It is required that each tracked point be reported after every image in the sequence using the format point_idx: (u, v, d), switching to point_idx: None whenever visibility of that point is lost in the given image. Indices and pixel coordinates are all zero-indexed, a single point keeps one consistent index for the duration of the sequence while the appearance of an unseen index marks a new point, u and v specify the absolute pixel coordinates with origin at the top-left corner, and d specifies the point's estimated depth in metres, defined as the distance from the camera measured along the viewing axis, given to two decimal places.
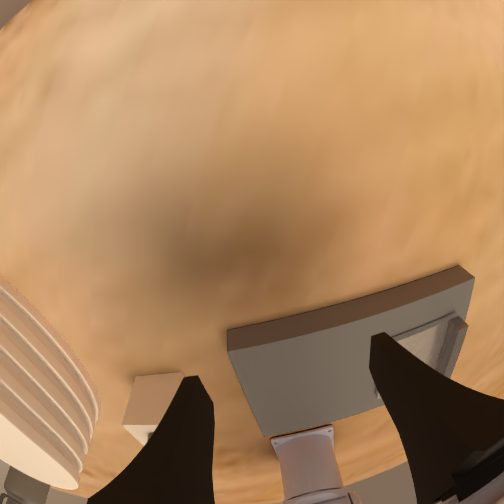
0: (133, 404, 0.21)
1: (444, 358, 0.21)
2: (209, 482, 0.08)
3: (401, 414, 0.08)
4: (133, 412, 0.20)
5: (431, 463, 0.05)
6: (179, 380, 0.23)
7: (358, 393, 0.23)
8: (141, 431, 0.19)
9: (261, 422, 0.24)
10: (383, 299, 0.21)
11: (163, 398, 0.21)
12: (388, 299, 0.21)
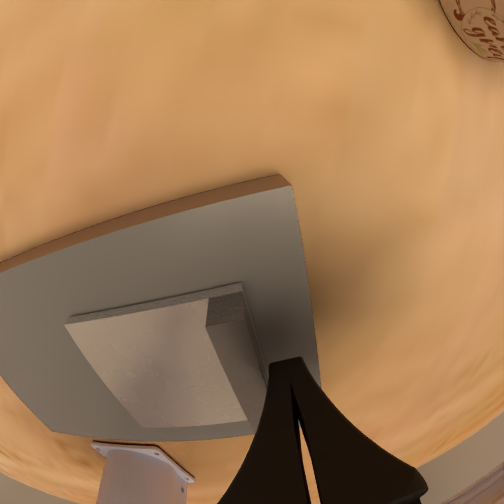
0: None
1: None
2: (304, 470, 0.08)
3: (307, 444, 0.08)
4: None
5: (321, 503, 0.05)
6: None
7: (114, 407, 0.13)
8: None
9: (30, 408, 0.14)
10: (72, 237, 0.11)
11: None
12: (75, 237, 0.10)
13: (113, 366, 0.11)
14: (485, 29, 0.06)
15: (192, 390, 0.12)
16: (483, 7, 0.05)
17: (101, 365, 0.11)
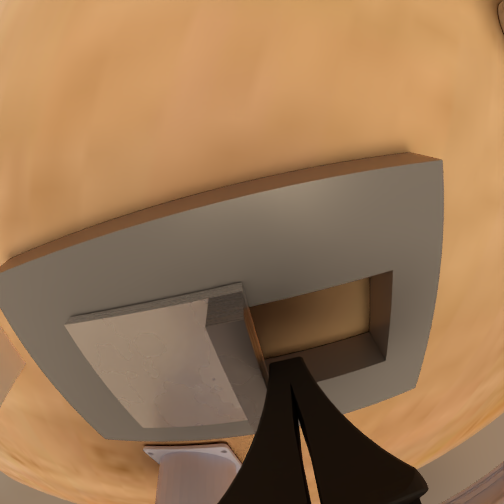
0: None
1: None
2: (304, 470, 0.08)
3: (308, 444, 0.08)
4: None
5: (321, 503, 0.05)
6: None
7: None
8: None
9: (84, 415, 0.14)
10: (205, 196, 0.10)
11: None
12: (214, 195, 0.10)
13: (113, 367, 0.11)
14: None
15: (192, 390, 0.12)
16: None
17: (101, 365, 0.11)
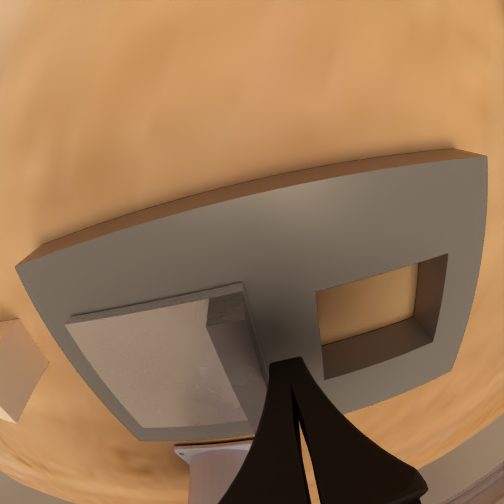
0: None
1: None
2: (304, 470, 0.08)
3: (307, 444, 0.08)
4: None
5: (321, 503, 0.05)
6: (11, 327, 0.13)
7: None
8: None
9: (120, 416, 0.14)
10: (288, 177, 0.10)
11: None
12: (298, 176, 0.10)
13: (113, 366, 0.11)
14: None
15: (192, 390, 0.12)
16: None
17: (101, 365, 0.11)
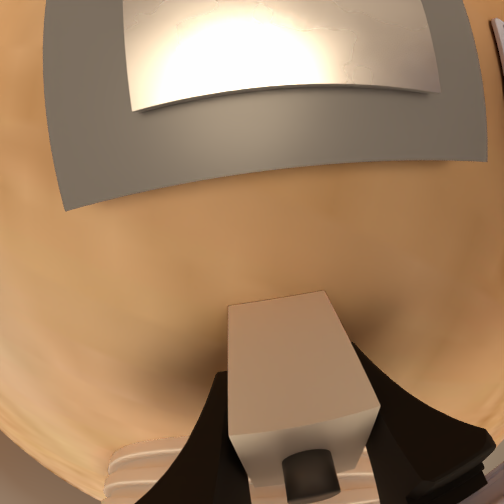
0: None
1: None
2: (246, 479, 0.08)
3: None
4: None
5: (390, 482, 0.05)
6: (228, 324, 0.11)
7: None
8: (280, 474, 0.08)
9: (425, 146, 0.07)
10: None
11: None
12: None
13: (240, 38, 0.05)
14: None
15: None
16: None
17: (238, 63, 0.05)
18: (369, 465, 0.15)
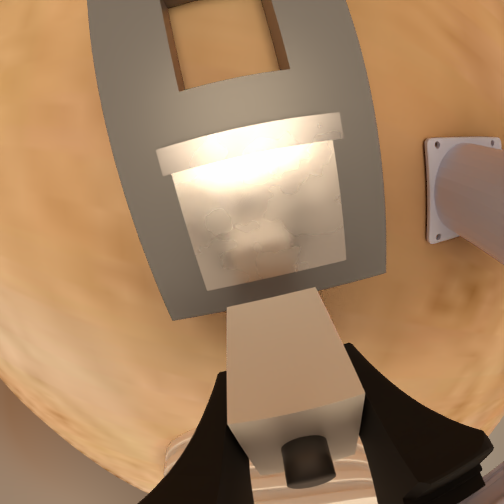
0: None
1: None
2: (248, 479, 0.08)
3: (363, 428, 0.08)
4: None
5: (387, 483, 0.05)
6: (227, 324, 0.11)
7: (300, 116, 0.13)
8: (282, 461, 0.08)
9: (340, 279, 0.17)
10: None
11: None
12: None
13: (248, 260, 0.15)
14: None
15: (276, 194, 0.14)
16: None
17: (249, 271, 0.15)
18: None
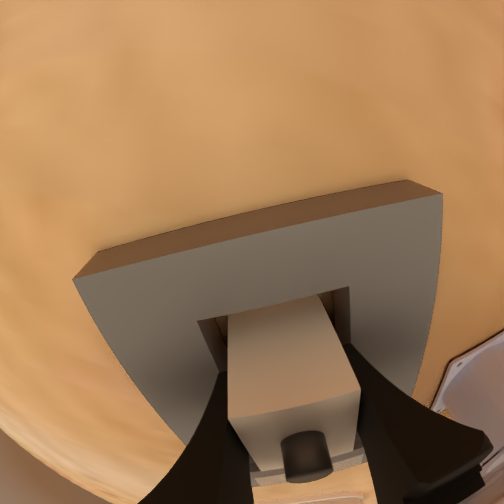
0: None
1: None
2: (248, 479, 0.08)
3: (363, 428, 0.08)
4: None
5: (387, 483, 0.05)
6: (228, 323, 0.12)
7: None
8: (281, 456, 0.09)
9: None
10: None
11: None
12: None
13: None
14: None
15: None
16: None
17: None
18: None
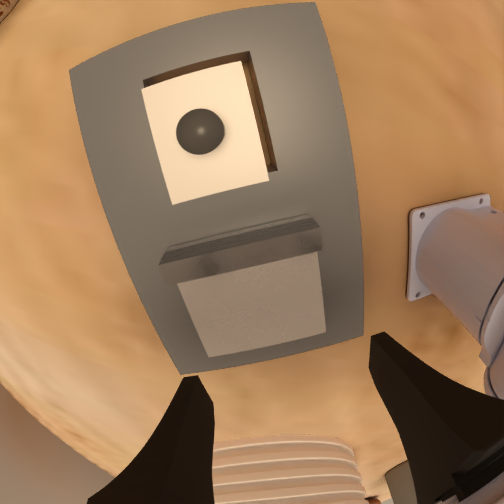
0: None
1: None
2: (209, 482, 0.08)
3: (401, 414, 0.08)
4: None
5: (431, 463, 0.05)
6: None
7: (287, 217, 0.15)
8: (188, 164, 0.11)
9: (321, 343, 0.19)
10: None
11: None
12: None
13: (242, 336, 0.18)
14: None
15: (265, 288, 0.16)
16: None
17: (242, 344, 0.18)
18: (336, 453, 0.28)
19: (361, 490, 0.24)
